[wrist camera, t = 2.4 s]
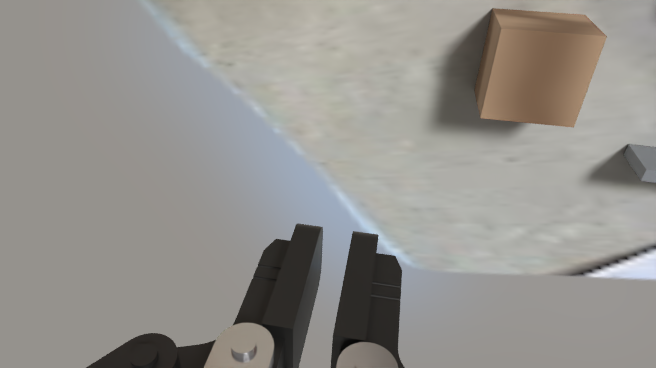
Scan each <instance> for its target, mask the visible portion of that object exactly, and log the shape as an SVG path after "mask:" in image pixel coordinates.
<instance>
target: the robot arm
mask: <svg viewBox="0 0 656 368" xmlns="http://www.w3.org/2000/svg"><path fill="white" fill-rule="evenodd" d="M322 239H323V228H322V227H319V226H311V225H304V224H297V225H296V227H295V230H294V232H293V235H292V238H291V241H287V240H280V239H276V240H274V241H273V242H272V243H271V244H270V245H269V246H268V247H267V248H266V249H265V250H264V252H263V254H262V256H261V259H260V261H259V264H258V267H257V269H256V271H255V274H254V277H253V279H252V281H251V283H250V286H249V288H248V291H247V293H246V296H245V298H244V300H243V303H242V305H241V308H240V310H239V313H238V315H237V318H236V320H235V322H234V324H233V326H231V327H229V328H227V329H226V330H224V331H223V332H222V333H221V334H220V335H219V336H218V338H217V339H216V340H214V341H212V342H209V343H205V344H200V345H192V346H185V347H176V345H175V343H174V342H173V340H171V339H170V338H169V337H167V336H165V335H162V334H157V333H150V334H144V335H140V336H138V337H135V338H133V339H131V340H130V341H128V342H126V343H125V344H123V345H122V346H120V347H118V348H117V349H115V350H114V351H112V352H110V353H109V354H107V355H106V356H104V357H102V358H101V359H99V360H98V361H96V362H95V363H93V364H91V365H90V366H88V367H87V368H299V363H300V359H301V355H302V351H303V347H304V343H305V339H306V335H307V331H308V327H309V323H310V319H311V315H312V310H313V307H314V302H315V298H316V294H317V290H318V286H319V280H320V274H321V263H322ZM377 242H378V235H377V234H369V233H362V232H354V231H353V234H352V239H351V244H350V249H349V255H348V260H347V265H346V270H345V276H344V281H343V286H342V291H341V297H340V302H339V307H338V312H337V317H336V323H335V329H334V333H333V344H332V358H331V368H404V367H403V364H402V363H401V361H400V358H399V354H398V333H399V314H400V296H401V277H402V270H401V267H400V265H399V263H398V261H397V259H396V257H395V256H392V255H385V254H378V253H376V250H377Z"/></svg>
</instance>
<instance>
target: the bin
mask: <svg viewBox="0 0 656 368" xmlns="http://www.w3.org/2000/svg"><path fill="white" fill-rule="evenodd" d="M624 157H625V158H626V160H627V161H628V163H629V164H630V166H631V167H632V169H633V170H634V171H635V173H636V174H637V176H638V177H639V179H640V180H641V181H646V182H654V183H656V147H649V146H640V145H631V144H628V146H627V149H626V151H625V153H624Z"/></svg>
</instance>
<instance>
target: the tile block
mask: <svg viewBox="0 0 656 368" xmlns="http://www.w3.org/2000/svg"><path fill="white" fill-rule="evenodd" d="M606 37H607V36H606V35H605V34H604V33H603V32H602V31H601V30H600V29H599V28H598V27H597V26H596V25H595V24H594V23H593V22H592V21H591V20H590V19H589V18H588V17H587V16H586V15H579V14H565V13H551V12H537V11H522V10H508V9H494V8H492V13H491V17H490V22H489V26H488V31H487V35H486V40H485V45H484V49H483V54H482V58H481V63H480V67H479V72H478V77H477V81H476V86H475V90H474V91H475V96H476V100H477V105H478V109H479V114H480V118H483V119H494V120H504V121H514V122H524V123H535V124H545V125H555V126H565V127H574V125H575V122H576V120H577V117H578V114H579V111H580V109H581V106H582V103H583V101H584V98H585V95H586V92H587V90H588V87H589V84H590V81H591V79H592V76H593V73H594V70H595V68H596V65H597V62H598V59H599V57H600V54H601V51H602V48H603V46H604V43H605V40H606Z"/></svg>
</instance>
